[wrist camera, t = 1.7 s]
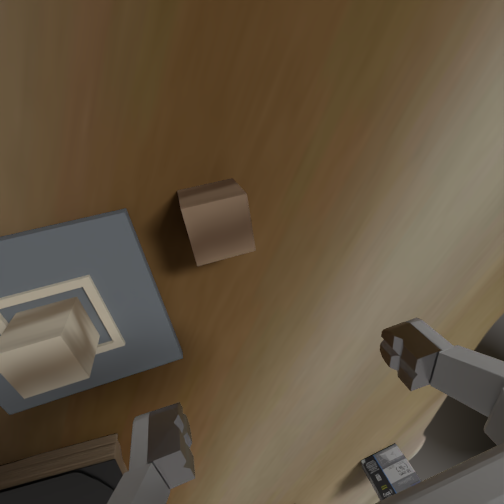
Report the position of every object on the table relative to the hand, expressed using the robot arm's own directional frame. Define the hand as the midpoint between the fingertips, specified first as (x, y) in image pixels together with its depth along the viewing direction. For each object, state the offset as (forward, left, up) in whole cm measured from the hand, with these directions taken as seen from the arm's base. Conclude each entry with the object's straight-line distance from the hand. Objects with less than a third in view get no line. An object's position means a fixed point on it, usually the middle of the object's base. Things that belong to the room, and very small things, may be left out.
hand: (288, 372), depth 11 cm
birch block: (+7, -16, -17) cm, 25 cm away
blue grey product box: (+65, +24, -19) cm, 72 cm away
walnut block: (0, 0, -19) cm, 19 cm away
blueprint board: (+7, -16, -18) cm, 25 cm away
